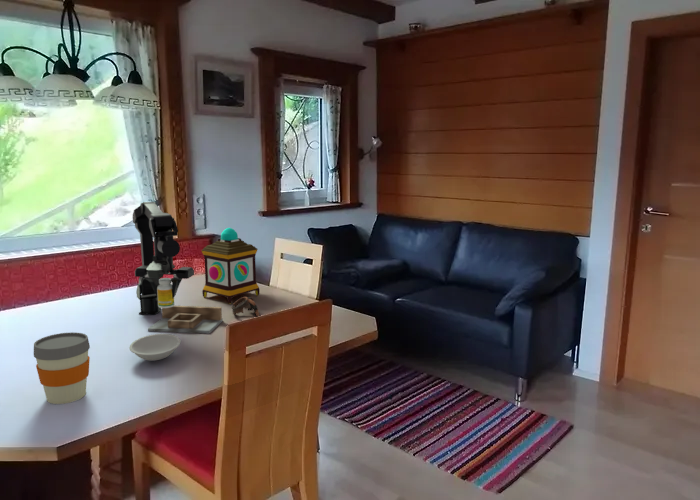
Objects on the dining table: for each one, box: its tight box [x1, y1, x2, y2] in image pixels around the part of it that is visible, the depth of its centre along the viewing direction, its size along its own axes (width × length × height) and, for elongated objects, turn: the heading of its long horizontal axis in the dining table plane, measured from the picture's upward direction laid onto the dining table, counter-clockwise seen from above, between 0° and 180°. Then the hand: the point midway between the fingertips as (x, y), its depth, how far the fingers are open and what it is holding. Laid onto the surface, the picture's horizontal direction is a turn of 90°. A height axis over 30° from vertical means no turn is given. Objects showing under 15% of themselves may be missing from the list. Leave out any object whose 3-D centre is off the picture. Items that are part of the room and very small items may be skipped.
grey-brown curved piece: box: [230, 296, 260, 317], centre depth 206 cm, size 12×10×8 cm
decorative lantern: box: [201, 227, 260, 305], centre depth 229 cm, size 20×20×30 cm
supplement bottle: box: [157, 277, 175, 309], centre depth 184 cm, size 5×5×10 cm
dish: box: [129, 333, 181, 362], centre depth 162 cm, size 18×14×5 cm
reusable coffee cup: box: [33, 331, 91, 405], centre depth 137 cm, size 13×13×15 cm
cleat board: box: [147, 305, 224, 335], centre depth 193 cm, size 22×14×6 cm, turn 85°
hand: (165, 296), depth 185 cm, fingers closed on supplement bottle, 5 cm apart
